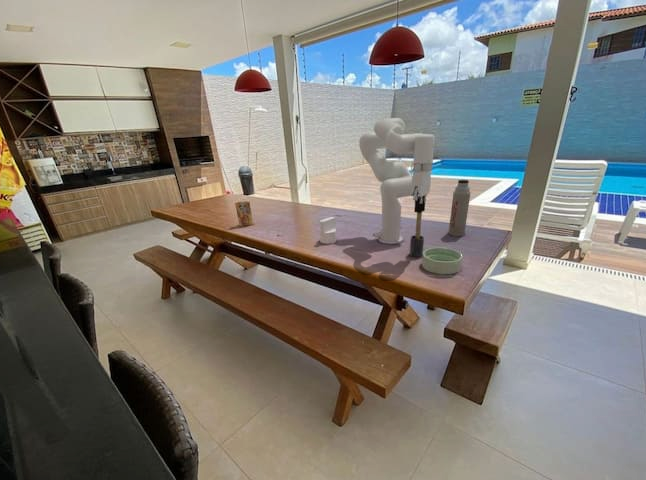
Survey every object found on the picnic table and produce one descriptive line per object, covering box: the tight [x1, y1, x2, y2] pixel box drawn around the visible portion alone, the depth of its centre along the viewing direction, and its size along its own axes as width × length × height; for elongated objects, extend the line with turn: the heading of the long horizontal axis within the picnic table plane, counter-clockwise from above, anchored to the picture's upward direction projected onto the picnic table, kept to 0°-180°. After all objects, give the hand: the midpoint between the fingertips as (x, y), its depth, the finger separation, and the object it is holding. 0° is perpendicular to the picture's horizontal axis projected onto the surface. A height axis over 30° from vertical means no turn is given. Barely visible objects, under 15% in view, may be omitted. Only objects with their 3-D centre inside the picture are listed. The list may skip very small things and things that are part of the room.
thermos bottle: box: [448, 179, 471, 237], centre depth 158 cm, size 8×8×28 cm
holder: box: [409, 234, 425, 258], centre depth 140 cm, size 6×6×9 cm
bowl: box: [421, 246, 464, 275], centre depth 128 cm, size 15×15×6 cm
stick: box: [415, 198, 423, 239], centre depth 134 cm, size 2×2×18 cm
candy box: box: [234, 199, 254, 227], centre depth 197 cm, size 9×4×15 cm, turn 103°
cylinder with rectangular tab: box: [318, 216, 338, 245], centre depth 163 cm, size 9×9×12 cm
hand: (419, 211), depth 132 cm, fingers closed on stick, 2 cm apart
